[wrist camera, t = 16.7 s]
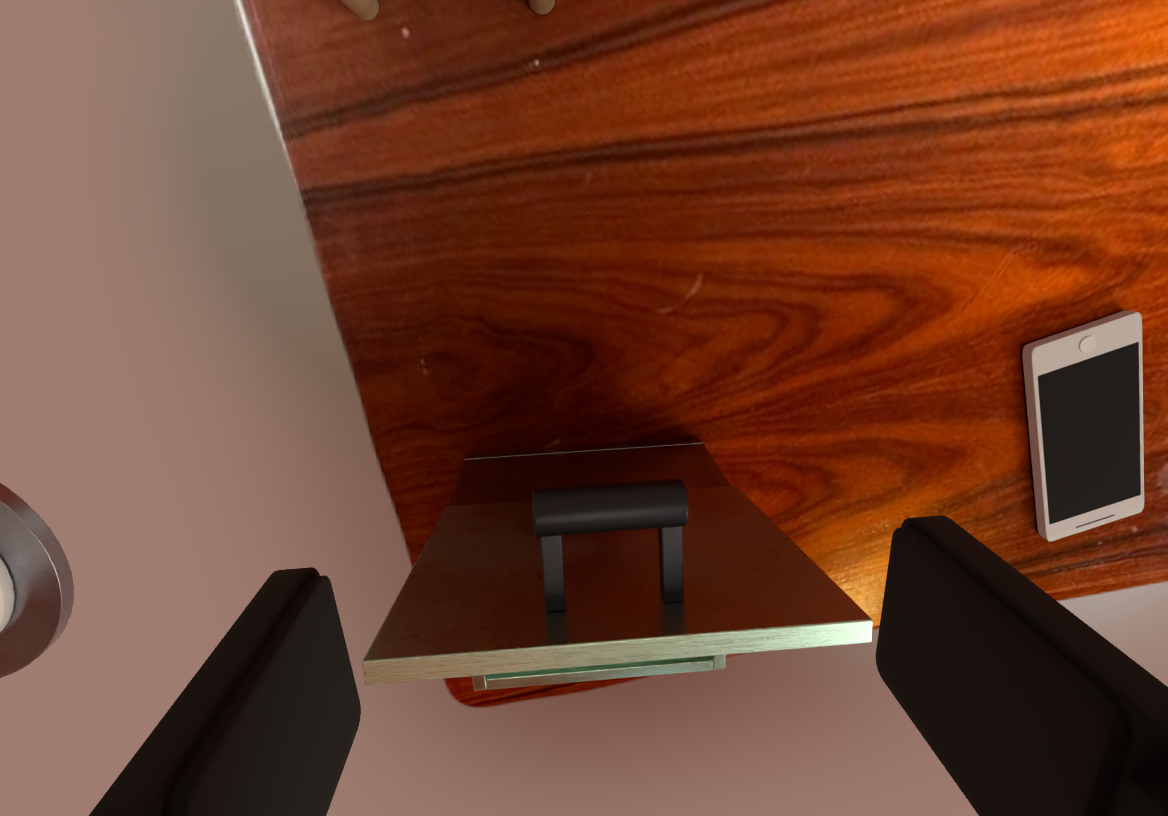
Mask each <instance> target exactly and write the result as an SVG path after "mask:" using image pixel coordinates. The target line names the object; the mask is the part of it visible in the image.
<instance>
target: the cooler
mask: <svg viewBox="0 0 1168 816" xmlns="http://www.w3.org/2000/svg"><path fill="white" fill-rule="evenodd" d="M672 478H681V479H682V480H683V482H684V484H685V487H686V489H696V488H710V487H724V486H731V485H730V484H729V482H728V480H727V479H726V477H725V476H724V474H723V473H722V471H721V470H720V468H719V467H718V465H717V464H716V462H715V461H714V459H713V458H712V456H711V455H710V453H709V452H708V450H707V449H706V447H705V446H704V444H703V443H702V441H701V440H700V439H687V440H673V441H658V442H643V443H628V444H614V445H599V446H584V447H570V448H555V449H540V450H526V451H511V452H496V453H481V454H467V455H466V457H465V460H464V463H463V466H462V469H461V472H460V475H459V479H458V482H457V485H456V488H455V491H454V494H453V497H452V500H451V503H450V506H458V505H472V504H486V503H500V502H514V501H528V500H532V492H533V489H535V488H545V487H559V486H573V485H588V484H602V483H616V482H630V481H644V480H658V479H672ZM725 660H726V655H716V656H704V657H692V658H680V659H668V660H656V661H644V662H632V663H621V664H609V665H597V666H585V667H573V668H561V669H549V670H537V671H525V672H513V673H501V674H490V675H478V676H472V679H473V686H474V690H485V689H498V688H510V687H522V686H534V685H545V684H557V683H569V682H581V681H592V680H604V679H616V678H628V677H639V676H651V675H663V674H675V673H686V672H698V671H710V670H720V669H725V662H726V661H725Z"/></svg>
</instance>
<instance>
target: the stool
mask: <svg viewBox="0 0 1168 816" xmlns="http://www.w3.org/2000/svg"><path fill="white" fill-rule="evenodd" d="M341 1H342V2H343V3H344V4H345V5H346V6H347V7H348V8H349V9H350V10H351V11H352V12H353V13H354V14H355V15H356V16H357V17H358V18H359V19H361V20H363V21H370V20H372V19H374V18H375V17H376V16H377V14H378V11H379V3H378V0H341ZM528 2H529V5H530V7H531V9H532V10H533V11H534V12H535V13H537V14H547V13H549V12H550V11H551V10H552V8H553V7H554V4H555V0H528Z"/></svg>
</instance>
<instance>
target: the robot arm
mask: <svg viewBox="0 0 1168 816" xmlns="http://www.w3.org/2000/svg"><path fill="white" fill-rule="evenodd" d="M13 607H14V590H13V583H12V580H11V577H10V575H9V572H8V570H7V567H6V565H5V564H4V562H3V561H2V559H1V558H0V633H1V631H2V630H3V629H4V627H5V626H6V625H7V624H8V622H9V619H10V617H11V614H12V612H13ZM876 664H877V668H878V671H879V673H880V676H881V677H882V679H883V681H884V682H885V684H886V685H887V686H888V688H889V689H890V691H891V692H892V694H893V695H894V696H895V698H896V699H897V701H898V702H899V703H900V705H901V706H902V708H903V709H904V710H905V711H906V713H907V715H908V716H909V717H910V719H911V720H912V722H913V723H914V724H915V726H916V727H917V729H918V730H919V732H920V733H921V734H922V736H923V737H924V739H925V740H926V741H927V743H928V744H929V746H930V747H931V749H932V750H933V751H934V753H935V754H936V756H937V757H938V758H939V760H940V761H941V763H942V764H943V765H944V766H945V768H946V770H947V771H948V772H949V774H950V775H951V777H952V778H953V780H954V781H955V782H956V783H957V785H958V787H959V788H960V789H961V791H962V792H963V794H964V795H965V796H966V798H967V799H968V801H969V802H970V803H971V805H972V806H973V808H974V809H975V811H976V812H977V813H978V815H979V816H1168V687H1167V686H1166V685H1164V684H1163V683H1162V682H1160V681H1159V680H1158V679H1156V678H1155V677H1154V676H1153V675H1151V674H1150V673H1149V672H1148V671H1146V670H1145V669H1144V668H1142V667H1141V666H1140V665H1138V664H1137V663H1136V662H1135V661H1133V660H1132V659H1131V658H1129V657H1128V656H1127V655H1126V654H1124V653H1123V652H1122V651H1120V650H1119V649H1118V648H1117V647H1115V646H1114V645H1113V644H1111V643H1110V642H1109V641H1107V640H1106V639H1105V638H1104V637H1102V636H1101V635H1100V634H1098V633H1097V632H1096V631H1095V630H1093V629H1092V628H1091V627H1089V626H1088V625H1087V624H1085V623H1084V622H1083V621H1082V620H1080V619H1079V618H1078V617H1076V616H1075V615H1074V614H1073V613H1071V612H1070V611H1069V610H1067V609H1066V608H1065V607H1063V606H1062V605H1061V604H1060V603H1058V602H1057V601H1056V600H1054V599H1053V598H1052V597H1051V596H1049V595H1048V594H1047V593H1045V592H1044V591H1043V590H1042V589H1040V588H1039V587H1038V586H1036V585H1035V584H1034V583H1032V582H1031V581H1030V580H1029V579H1027V578H1026V577H1025V576H1023V575H1022V574H1021V573H1020V572H1018V571H1017V570H1016V569H1014V568H1013V567H1012V566H1010V565H1009V564H1008V563H1007V562H1005V561H1004V560H1003V559H1001V558H1000V557H999V556H998V555H996V554H995V553H994V552H992V551H991V550H990V549H989V548H987V547H986V546H985V545H983V544H982V543H981V542H979V541H978V540H977V539H976V538H974V537H973V536H972V535H970V534H969V533H968V532H967V531H965V530H964V529H963V528H961V527H960V526H959V525H957V524H956V523H955V522H954V521H952V520H951V519H949V518H948V517H946V516H929V517H917V518H908V519H906V520H905V521H904V522H903V524H902V526H901V528H897V529H896V530H895V531H894V533H893V537H892V543H891V550H890V558H889V565H888V572H887V579H886V586H885V593H884V600H883V607H882V614H881V621H880V628H879V635H878V642H877V650H876ZM360 707H361V706H360V700H359V696H358V692H357V688H356V684H355V679H354V675H353V671H352V667H351V663H350V659H349V655H348V651H347V647H346V643H345V639H344V634H343V630H342V626H341V622H340V618H339V614H338V610H337V606H336V602H335V598H334V593H333V589H332V586H331V582H330V579H329V578H328V577H327V576H320V575H319V573H318V571H317V570H316V569H315V568H299V569H287V570H278V571H275V572H273V574H271V575H270V577H269V578H268V579H267V581H266V582H265V583H264V585H263V586H262V587H261V589H260V590H259V591H258V593H257V594H256V595H255V597H254V598H253V599H252V601H251V602H250V603H249V604H248V606H247V607H246V608H245V610H244V611H243V612H242V614H241V615H240V616H239V618H238V619H237V621H236V622H235V623H234V624H233V626H232V627H231V628H230V630H229V631H228V632H227V634H226V635H225V636H224V638H223V639H222V640H221V642H220V643H219V644H218V645H217V647H216V648H215V650H214V651H213V652H212V653H211V655H210V656H209V657H208V659H207V660H206V661H205V663H204V664H203V665H202V667H201V668H200V669H199V671H198V672H197V673H196V675H195V676H194V677H193V679H192V680H191V681H190V682H189V684H188V685H187V687H186V688H185V689H184V691H183V692H182V693H181V695H180V696H179V697H178V698H177V700H176V701H175V702H174V704H173V705H172V706H171V708H170V709H169V710H168V712H167V713H166V714H165V716H164V717H163V718H162V720H161V721H160V722H159V724H158V725H157V726H156V727H155V729H154V730H153V731H152V733H151V734H150V736H149V737H148V738H147V739H146V741H145V742H144V743H143V745H142V746H141V748H140V749H139V750H138V751H137V753H136V754H135V755H134V757H133V758H132V759H131V761H130V762H129V763H128V764H127V766H126V767H125V768H124V770H123V771H122V773H121V774H120V775H119V776H118V778H117V779H116V781H115V782H114V783H113V784H112V786H111V787H110V788H109V790H108V791H107V792H106V794H105V795H104V796H103V798H102V799H101V800H100V802H99V803H98V804H97V805H96V807H95V808H94V809H93V811H92V812H91V813H90V815H89V816H326V814H327V812H328V809H329V806H330V803H331V801H332V798H333V795H334V793H335V790H336V787H337V784H338V781H339V779H340V776H341V773H342V771H343V768H344V765H345V762H346V760H347V757H348V754H349V752H350V749H351V746H352V743H353V741H354V738H355V735H356V732H357V730H358V726H359V722H360V714H361V708H360Z"/></svg>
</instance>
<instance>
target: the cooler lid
mask: <svg viewBox="0 0 1168 816" xmlns="http://www.w3.org/2000/svg"><path fill="white" fill-rule="evenodd" d="M871 641H872V619H871V618H870V617H869V616H868V615H867V614H866V613H865V612H864V611H863V610H862V609H861V608H860V607H859V606H858V605H857V604H856V603H855V602H854V601H853V600H852V599H851V598H850V597H849V596H848V595H847V594H846V593H845V592H844V591H843V590H842V589H841V588H840V587H839V586H838V585H837V584H836V583H834V582H833V581H832V580H831V579H830V578H829V577H828V576H827V575H826V574H825V573H824V572H823V571H822V570H821V569H820V568H819V567H818V566H817V565H816V564H815V563H814V562H813V561H812V560H811V559H810V558H809V557H808V556H807V555H806V554H805V553H804V552H803V551H802V550H801V549H800V548H799V547H798V546H797V545H796V544H795V543H794V542H793V541H792V540H791V539H790V538H789V537H788V536H787V535H786V534H785V533H784V532H783V531H782V530H780V529H779V528H778V527H777V526H776V525H775V524H774V523H773V522H772V521H771V520H770V519H769V518H768V517H767V516H766V515H765V514H764V513H763V512H762V511H761V510H760V509H759V508H758V507H757V506H756V505H755V504H754V503H753V502H752V501H751V500H750V499H749V498H748V497H747V496H746V495H745V494H744V493H743V492H742V491H741V490H740V489H739V488H738V487H737V486H724V487H710V488H696V489H686V487H685V484H684V482H683V480H682V479H681V478H672V479H658V480H644V481H630V482H616V483H602V484H588V485H573V486H559V487H545V488H535V489H533V492H532V500H528V501H514V502H500V503H486V504H472V505H458V506H446V507H445V509H444V511H443V513H442V515H441V517H440V518H439V520H438V522H437V524H436V526H435V528H434V530H433V531H432V533H431V535H430V537H429V539H428V541H427V543H426V544H425V546H424V548H423V550H422V552H421V554H420V556H419V557H418V559H417V561H416V563H415V565H414V567H413V568H412V570H411V572H410V574H409V576H408V578H407V580H406V582H405V583H404V586H403V587H402V589H401V591H400V593H399V594H398V596H397V598H396V600H395V602H394V604H393V606H392V608H391V609H390V611H389V613H388V615H387V617H386V619H385V620H384V622H383V624H382V626H381V628H380V630H379V632H378V633H377V635H376V637H375V639H374V641H373V643H372V645H371V647H370V648H369V650H368V652H367V654H366V656H365V657H364V659H363V661H362V664H363V671H364V679H365V684H366V685H370V684H381V683H394V682H406V681H418V680H430V679H442V678H454V677H466V676H478V675H490V674H501V673H513V672H525V671H537V670H549V669H561V668H573V667H585V666H597V665H609V664H621V663H632V662H644V661H656V660H668V659H680V658H692V657H704V656H716V655H728V654H740V653H752V652H763V651H774V650H787V649H799V648H811V647H823V646H835V645H847V644H858V643H870V642H871Z"/></svg>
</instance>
